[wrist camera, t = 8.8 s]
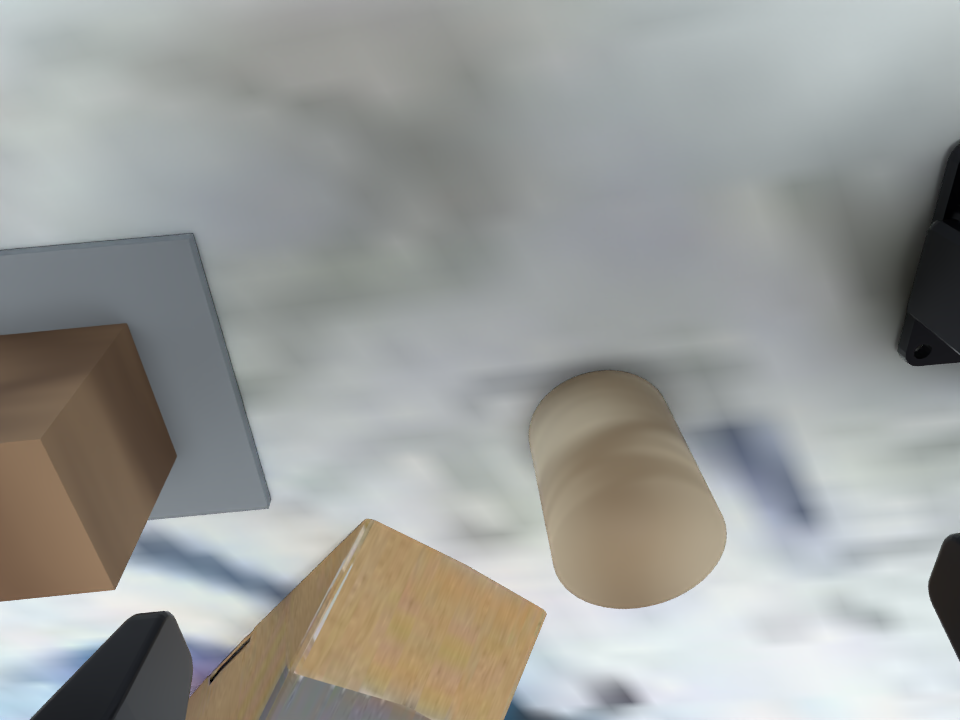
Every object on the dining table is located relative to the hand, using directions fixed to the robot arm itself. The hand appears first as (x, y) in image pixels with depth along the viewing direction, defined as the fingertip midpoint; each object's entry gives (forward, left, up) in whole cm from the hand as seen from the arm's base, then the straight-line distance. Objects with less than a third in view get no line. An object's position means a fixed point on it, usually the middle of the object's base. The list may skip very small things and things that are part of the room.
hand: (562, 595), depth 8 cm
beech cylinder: (-3, +7, -12) cm, 14 cm away
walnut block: (+12, +4, -12) cm, 17 cm away
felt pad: (+12, +4, -12) cm, 17 cm away
